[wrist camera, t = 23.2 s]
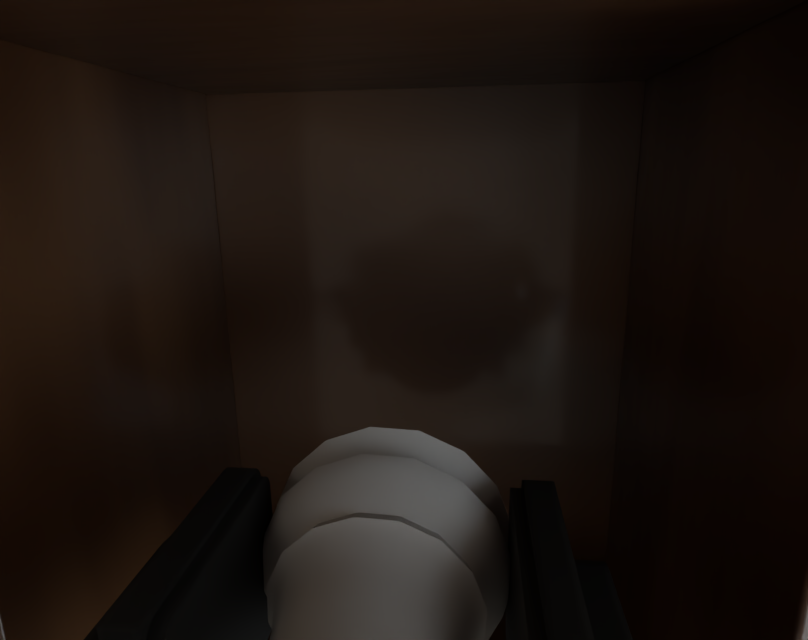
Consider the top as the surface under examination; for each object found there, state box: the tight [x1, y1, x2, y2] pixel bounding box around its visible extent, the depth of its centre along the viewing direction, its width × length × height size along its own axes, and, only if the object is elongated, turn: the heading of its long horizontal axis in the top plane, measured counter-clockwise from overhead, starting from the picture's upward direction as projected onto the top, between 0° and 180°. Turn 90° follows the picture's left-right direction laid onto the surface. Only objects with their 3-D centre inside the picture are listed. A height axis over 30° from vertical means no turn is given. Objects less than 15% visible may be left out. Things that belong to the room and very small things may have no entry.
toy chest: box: [0, 0, 808, 640], centre depth 12 cm, size 16×13×10 cm
